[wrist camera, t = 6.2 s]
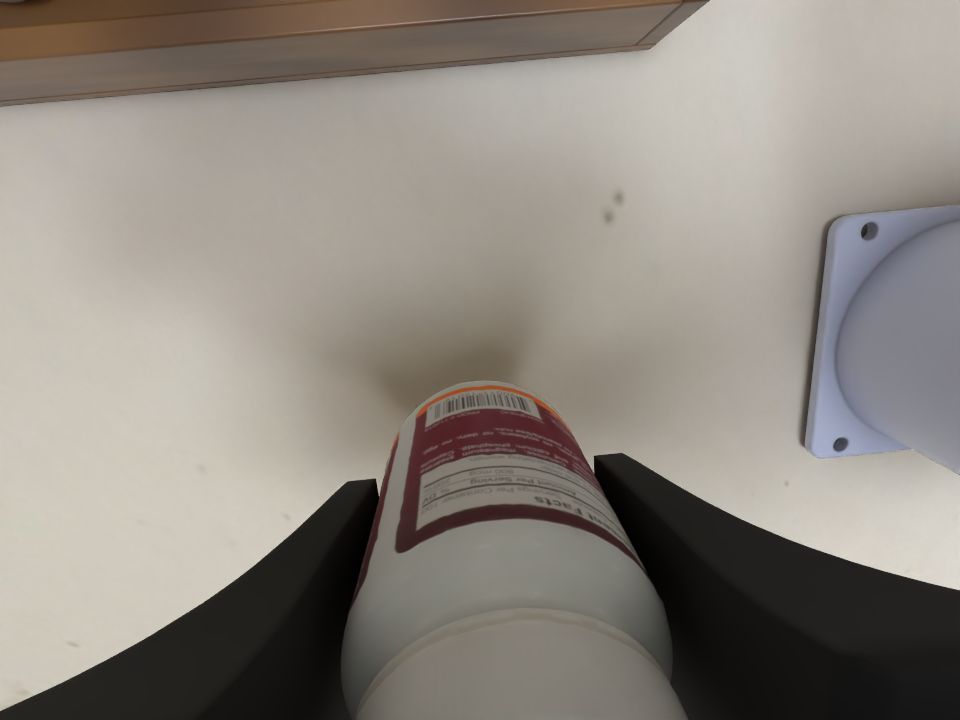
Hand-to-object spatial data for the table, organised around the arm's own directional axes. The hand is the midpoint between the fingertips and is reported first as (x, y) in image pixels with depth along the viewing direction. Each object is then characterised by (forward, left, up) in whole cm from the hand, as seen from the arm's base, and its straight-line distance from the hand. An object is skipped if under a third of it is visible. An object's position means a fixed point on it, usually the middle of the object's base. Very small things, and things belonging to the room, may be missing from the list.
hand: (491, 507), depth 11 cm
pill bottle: (0, 0, -2) cm, 2 cm away
